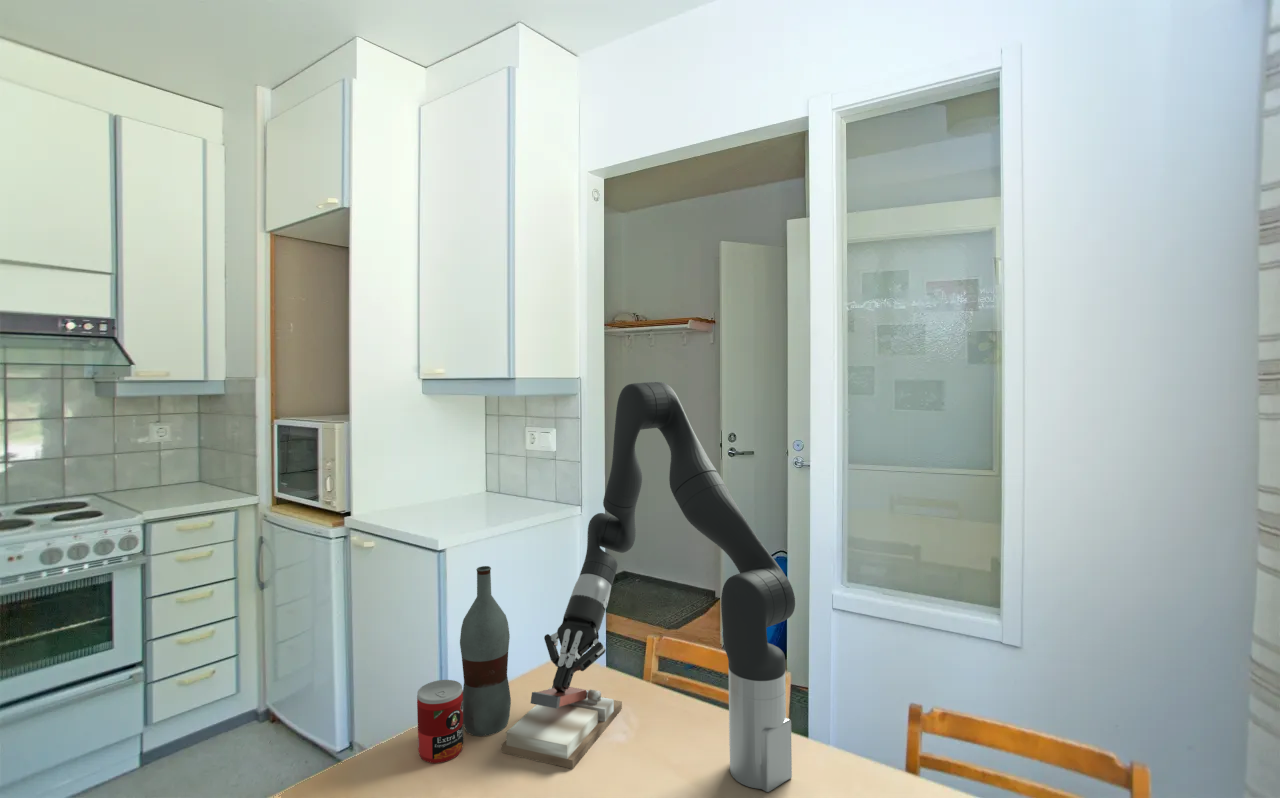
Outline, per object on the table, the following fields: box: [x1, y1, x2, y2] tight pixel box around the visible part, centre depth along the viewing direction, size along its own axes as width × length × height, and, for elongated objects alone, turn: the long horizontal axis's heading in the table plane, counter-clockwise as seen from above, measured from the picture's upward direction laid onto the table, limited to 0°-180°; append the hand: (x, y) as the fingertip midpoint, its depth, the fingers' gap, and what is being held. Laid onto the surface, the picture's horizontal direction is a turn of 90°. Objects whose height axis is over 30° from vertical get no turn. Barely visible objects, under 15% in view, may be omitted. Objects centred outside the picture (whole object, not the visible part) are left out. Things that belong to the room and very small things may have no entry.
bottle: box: [459, 565, 512, 737], centre depth 119 cm, size 9×9×30 cm
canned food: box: [416, 679, 465, 764], centre depth 111 cm, size 8×8×11 cm
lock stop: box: [530, 686, 590, 708], centre depth 116 cm, size 2×5×14 cm
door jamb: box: [501, 684, 623, 770], centre depth 117 cm, size 21×14×6 cm, turn 159°
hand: (559, 690), depth 115 cm, fingers closed
